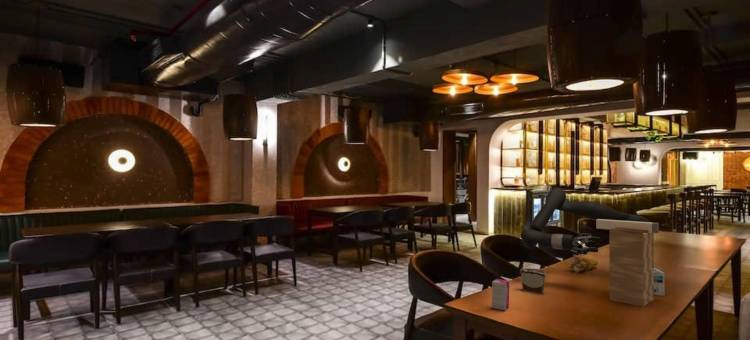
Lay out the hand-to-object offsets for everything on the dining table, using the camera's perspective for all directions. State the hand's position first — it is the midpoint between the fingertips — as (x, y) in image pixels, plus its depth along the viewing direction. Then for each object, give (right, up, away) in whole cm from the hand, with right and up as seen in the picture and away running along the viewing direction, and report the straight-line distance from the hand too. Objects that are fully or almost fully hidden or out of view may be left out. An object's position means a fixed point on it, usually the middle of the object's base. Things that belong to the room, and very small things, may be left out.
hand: (599, 244), depth 204 cm
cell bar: (+8, +8, -9) cm, 14 cm away
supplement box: (-54, -22, -25) cm, 64 cm away
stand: (+7, -22, -13) cm, 27 cm away
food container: (-30, -22, +1) cm, 37 cm away
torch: (+14, -22, +43) cm, 51 cm away
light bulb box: (+24, -22, -2) cm, 32 cm away
